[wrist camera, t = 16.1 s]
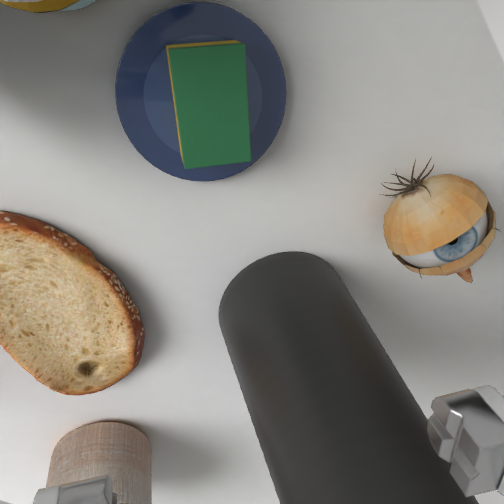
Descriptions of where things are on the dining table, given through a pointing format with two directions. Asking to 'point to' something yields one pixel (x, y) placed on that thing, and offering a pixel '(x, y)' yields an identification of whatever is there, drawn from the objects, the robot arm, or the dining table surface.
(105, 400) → the dining table surface
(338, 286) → the vase
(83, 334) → the slice of bread
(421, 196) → the sculpture
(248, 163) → the plate
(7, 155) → the dining table surface
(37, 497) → the robot arm
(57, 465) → the planter
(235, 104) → the sponge
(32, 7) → the bottle
